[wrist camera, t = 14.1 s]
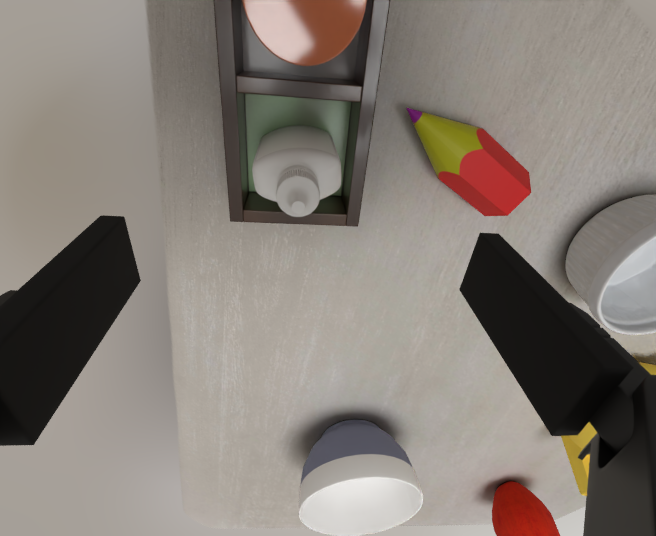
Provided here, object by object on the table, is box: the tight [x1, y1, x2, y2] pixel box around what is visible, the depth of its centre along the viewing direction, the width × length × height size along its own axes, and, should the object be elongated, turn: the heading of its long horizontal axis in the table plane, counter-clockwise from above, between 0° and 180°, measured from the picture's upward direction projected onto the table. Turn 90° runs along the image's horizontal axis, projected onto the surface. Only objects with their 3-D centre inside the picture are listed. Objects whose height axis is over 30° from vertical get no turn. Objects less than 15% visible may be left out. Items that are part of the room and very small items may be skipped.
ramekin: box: [565, 195, 656, 335], centre depth 34 cm, size 13×13×7 cm
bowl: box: [299, 420, 423, 536], centre depth 48 cm, size 16×16×10 cm
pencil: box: [407, 108, 531, 216], centre depth 28 cm, size 5×12×4 cm, turn 54°
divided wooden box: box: [214, 0, 390, 226], centre depth 24 cm, size 10×19×5 cm, turn 175°
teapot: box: [561, 362, 656, 496], centre depth 46 cm, size 17×17×12 cm
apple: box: [492, 481, 560, 536], centre depth 60 cm, size 10×10×12 cm
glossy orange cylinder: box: [242, 0, 367, 66], centre depth 20 cm, size 6×6×8 cm
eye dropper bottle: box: [252, 125, 341, 217], centre depth 23 cm, size 4×6×12 cm
